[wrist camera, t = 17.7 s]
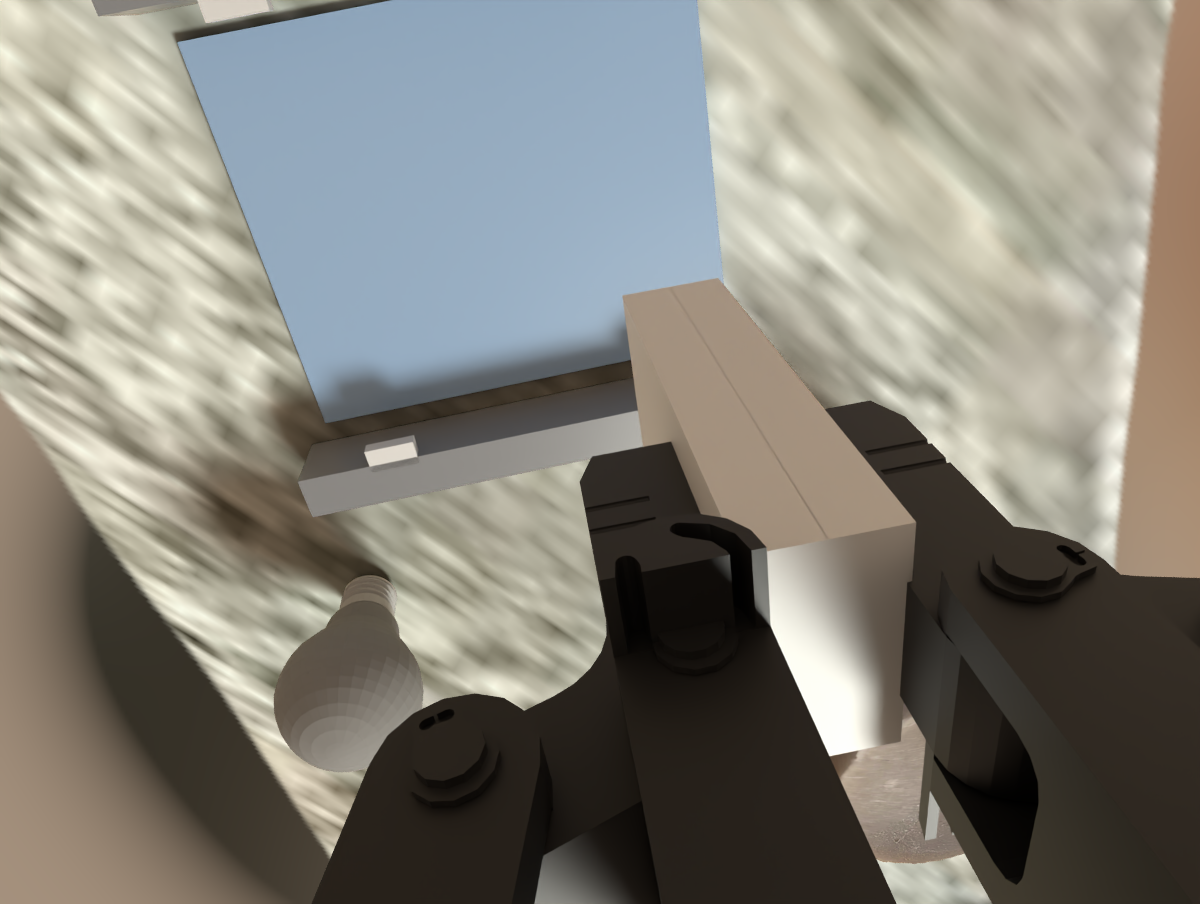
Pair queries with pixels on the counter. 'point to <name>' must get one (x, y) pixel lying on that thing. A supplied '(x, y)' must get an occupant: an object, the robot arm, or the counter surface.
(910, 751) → the pillar candle
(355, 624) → the light bulb
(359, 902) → the robot arm
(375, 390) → the blue panel with rails
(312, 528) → the counter surface
